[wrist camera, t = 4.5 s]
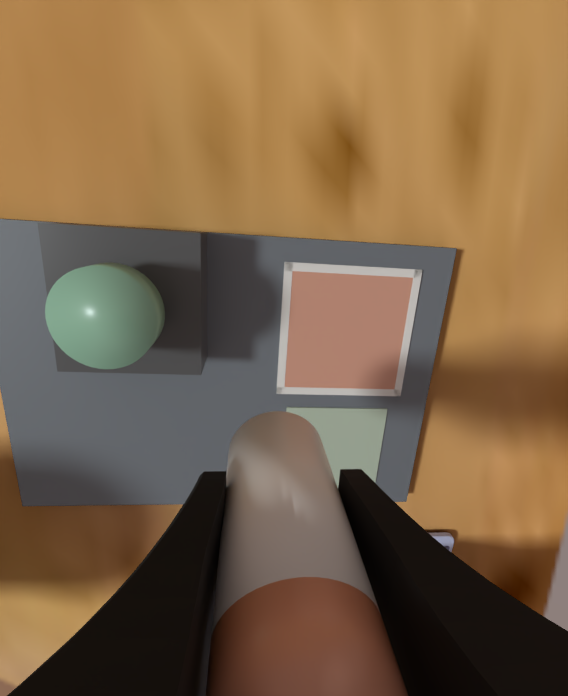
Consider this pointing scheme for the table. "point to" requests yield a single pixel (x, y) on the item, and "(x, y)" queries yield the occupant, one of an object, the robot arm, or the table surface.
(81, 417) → the activity board
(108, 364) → the button
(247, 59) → the table surface
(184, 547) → the robot arm
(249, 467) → the marker
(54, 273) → the button housing
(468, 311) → the table surface
